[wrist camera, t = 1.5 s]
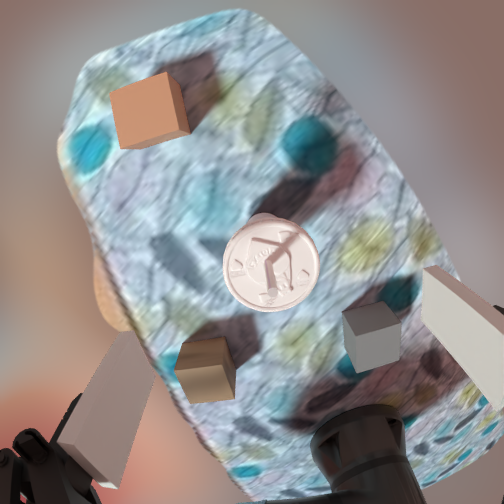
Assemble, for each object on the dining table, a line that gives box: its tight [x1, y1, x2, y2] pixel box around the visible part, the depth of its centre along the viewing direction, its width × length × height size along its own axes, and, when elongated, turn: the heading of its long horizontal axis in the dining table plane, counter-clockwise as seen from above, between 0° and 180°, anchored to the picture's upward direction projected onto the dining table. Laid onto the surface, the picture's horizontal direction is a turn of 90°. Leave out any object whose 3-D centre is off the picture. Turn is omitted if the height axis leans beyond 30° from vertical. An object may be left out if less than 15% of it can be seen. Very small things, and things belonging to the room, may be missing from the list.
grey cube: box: [342, 301, 402, 373], centre depth 30 cm, size 5×5×5 cm
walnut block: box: [174, 337, 236, 404], centre depth 31 cm, size 5×5×5 cm
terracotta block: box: [109, 72, 191, 149], centre depth 22 cm, size 5×5×5 cm
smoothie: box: [223, 213, 320, 312], centre depth 22 cm, size 6×6×14 cm
